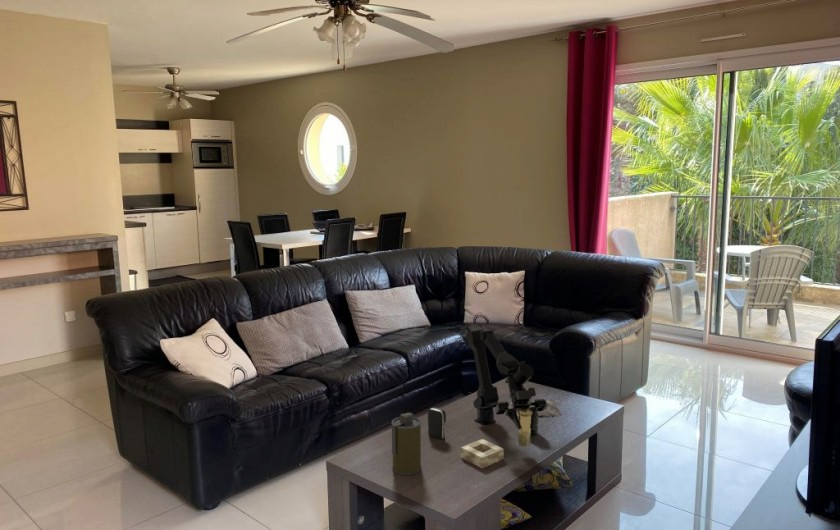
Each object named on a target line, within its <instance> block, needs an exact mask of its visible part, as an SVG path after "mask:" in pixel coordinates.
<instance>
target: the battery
mask: <svg viewBox="0 0 840 530" xmlns="http://www.w3.org/2000/svg"><path fill="white" fill-rule="evenodd" d="M427 412H428V413H427V428H428V432H427V435H428V436H430V437H433V438H436V439H440V440H443V439H444V438H445V435H446V434H445V424H446V422H447V413H446V411H445V410H444V409H441V408H439V407H432V408H430V409H428V410H427Z"/></svg>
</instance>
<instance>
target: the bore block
mask: <svg viewBox="0 0 840 530" xmlns="http://www.w3.org/2000/svg"><path fill="white" fill-rule="evenodd" d="M504 450H505V449H504V448H502V447H500V446H498V445H497V444H494V443H492V442H490V441H487V440H486V439H483V438H481V439H478V440H476V441H473V442H471V443H468V444H465V445H464V446H460V458H461V459H463V460H466V461H467V462H469V463H470V464H472V465H475V466H476V467H479V468H481V469H484V468H487V467H488V466H489V467H490V466H492V465H493V463H494V464H495V462H496V463H498V462H500V460H501V461H503V460H504V456H505V454H504ZM502 459H503V460H502Z"/></svg>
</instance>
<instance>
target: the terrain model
mask: <svg viewBox="0 0 840 530" xmlns="http://www.w3.org/2000/svg"><path fill="white" fill-rule="evenodd" d="M534 401H535V400H530V401H529V402H528V403H533V402H534ZM545 401H546V403H547V406H546V408H545V409H544V411H540V412H538V413H539V418H544V417H543V416H552V417H551V418H553V417H554V416H557V417H558V416H559V415H560V416H562V414H561V412H560V410H559V408H558V407H557V405H556V403H555V401H554V400H545ZM508 403H509V404H512V401H509V402H508ZM516 411H517V416H518V417H519V413H518V409H516ZM560 416H559V417H560ZM557 417H556V418H557ZM554 418H555V417H554Z"/></svg>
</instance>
